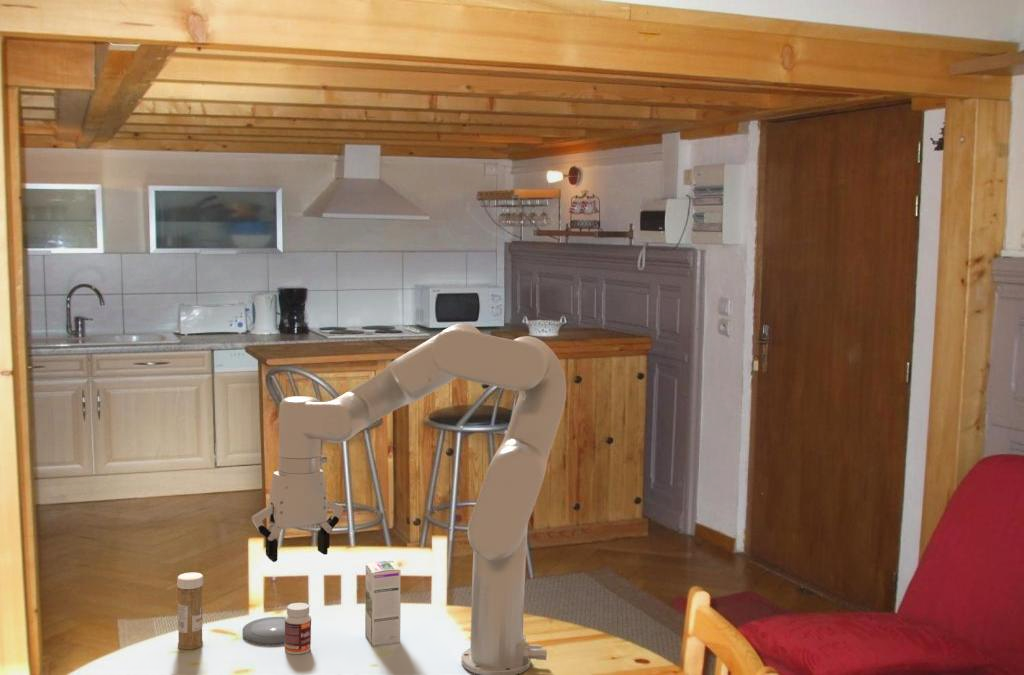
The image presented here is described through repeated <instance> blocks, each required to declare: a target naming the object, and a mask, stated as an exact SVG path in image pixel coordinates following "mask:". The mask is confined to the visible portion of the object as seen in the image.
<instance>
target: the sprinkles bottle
mask: <svg viewBox="0 0 1024 675" xmlns="http://www.w3.org/2000/svg"><path fill="white" fill-rule="evenodd" d="M176 584H177V585H176V586H177V589H178V591H177V593H178V597H177V598H178V599H177V600H178V601H177V630H178V642H177V647H178V648H179V649H181V650H185V651H189V650H190V651H191V650H196V649H200V648H201V647H202V646H203V644H204V640H203V585H204V576H203V574H202V573H200V572H193V571H192V572H191V571H190V572H185V573H181V574H179V575H177V579H176Z"/></svg>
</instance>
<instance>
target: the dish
mask: <svg viewBox="0 0 1024 675" xmlns="http://www.w3.org/2000/svg"><path fill="white" fill-rule="evenodd" d="M285 618H286V616H271V617H270V616H269V617H262V618H259V619H255V620H252V621H250V622H248V623H246V624H245V625H244V626H243V627H242V638H243V639H244V640H245V641H247V642H249V643H251V644H255V645H260V646H280V645H285Z"/></svg>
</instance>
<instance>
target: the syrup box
mask: <svg viewBox="0 0 1024 675" xmlns="http://www.w3.org/2000/svg"><path fill="white" fill-rule="evenodd" d="M364 602H365V605H364V607H365V608H364V609H365V610H364V611H365V612H364V613H365V615H364V616H365V618H364V619H365V620H364V622H365V629H364V633H365V634H364V635H365V638H366V639H367V640H368V642H369V643H370V644H371V646H372V647H374V646H375V647H376V646H377V647H378V646H386V645H387V646H388V645H395V644H400V643H401V569H400V568H399V566H398V565H397V564H396V563H395V562H394V561H392V560H386V561H385V560H383V561H382V560H381V561H375V562H370V563H365V601H364Z"/></svg>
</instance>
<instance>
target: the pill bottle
mask: <svg viewBox="0 0 1024 675" xmlns="http://www.w3.org/2000/svg"><path fill="white" fill-rule="evenodd" d="M285 617H286V618H285V644H284V651H285V653H287V654H289V655H290V654H291V655H304V654H307V653H309V652H310V650H311V648H312V647H311V646H312V645H311V644H312V643H311V640H312V639H311V638H312V636H311V635H312V627H311V626H312V618H311V615H310V605H309V604H308V603H306V602H294V603H290V604H288V605H287V606H286V616H285Z"/></svg>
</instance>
